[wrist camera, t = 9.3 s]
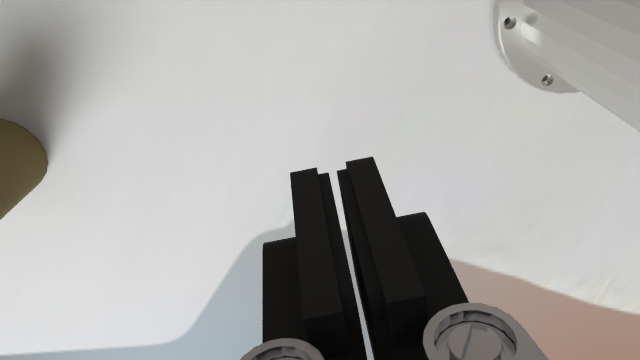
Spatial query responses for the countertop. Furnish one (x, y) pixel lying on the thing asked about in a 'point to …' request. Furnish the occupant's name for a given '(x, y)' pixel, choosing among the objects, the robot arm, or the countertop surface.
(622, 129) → the countertop surface
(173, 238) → the countertop surface
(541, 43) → the robot arm
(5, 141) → the cork
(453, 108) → the countertop surface
